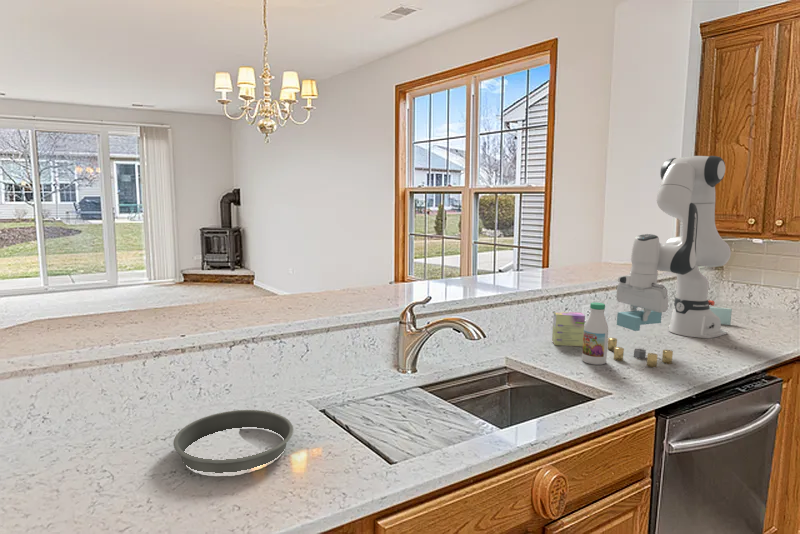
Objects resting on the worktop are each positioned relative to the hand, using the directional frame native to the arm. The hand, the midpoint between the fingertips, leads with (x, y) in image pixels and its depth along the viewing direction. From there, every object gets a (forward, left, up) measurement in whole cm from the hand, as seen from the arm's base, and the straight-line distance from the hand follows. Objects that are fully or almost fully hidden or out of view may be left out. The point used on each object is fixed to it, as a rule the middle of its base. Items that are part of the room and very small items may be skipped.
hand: (639, 319), depth 187 cm
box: (+17, -17, -12) cm, 27 cm away
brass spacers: (+6, +4, -12) cm, 14 cm away
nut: (+3, +4, -12) cm, 13 cm away
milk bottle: (+22, +3, -12) cm, 26 cm away
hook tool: (0, +3, -2) cm, 3 cm away
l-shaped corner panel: (-70, -26, -13) cm, 76 cm away
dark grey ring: (+139, +26, -13) cm, 142 cm away
